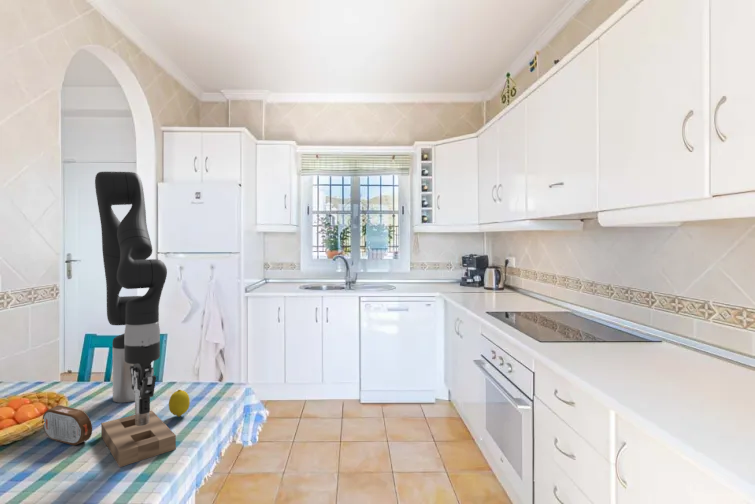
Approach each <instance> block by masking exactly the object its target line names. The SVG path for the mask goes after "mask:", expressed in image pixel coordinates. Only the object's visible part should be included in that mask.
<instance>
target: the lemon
mask: <svg viewBox="0 0 755 504" xmlns="http://www.w3.org/2000/svg"><path fill="white" fill-rule="evenodd" d="M190 403H191V401H190V397H189V394H188V392H187V391H185V390H182V389H177V391H174V392H173V393H172V394H171V395H170V397H169V401H168V410H169V411H170V413H171V414H172V415H174V416H177V417H178V418H180V417H181V416H183V415H184V414H185V413H187V411H188V410H189V408H190Z"/></svg>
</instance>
